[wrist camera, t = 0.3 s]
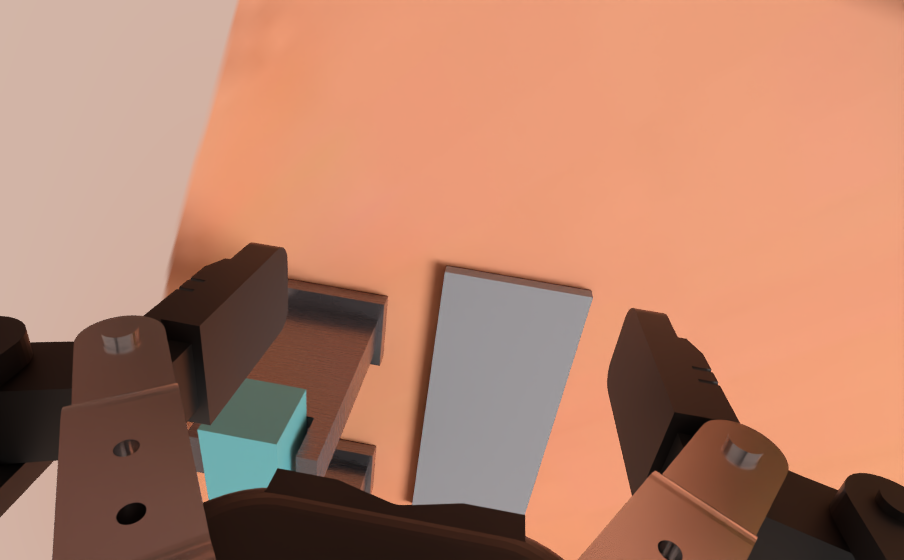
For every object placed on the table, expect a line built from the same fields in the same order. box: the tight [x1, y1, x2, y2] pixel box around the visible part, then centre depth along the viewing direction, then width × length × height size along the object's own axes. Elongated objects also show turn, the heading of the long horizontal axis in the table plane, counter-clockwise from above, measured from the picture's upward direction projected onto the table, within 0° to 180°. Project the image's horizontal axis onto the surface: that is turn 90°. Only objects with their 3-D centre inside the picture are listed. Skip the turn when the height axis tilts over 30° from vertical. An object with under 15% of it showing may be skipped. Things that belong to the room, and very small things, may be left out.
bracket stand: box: [188, 279, 388, 494], centre depth 34 cm, size 19×7×12 cm, turn 173°
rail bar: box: [197, 378, 307, 500], centre depth 29 cm, size 20×4×4 cm, turn 173°
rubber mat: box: [412, 266, 593, 515], centre depth 38 cm, size 23×9×1 cm, turn 173°
